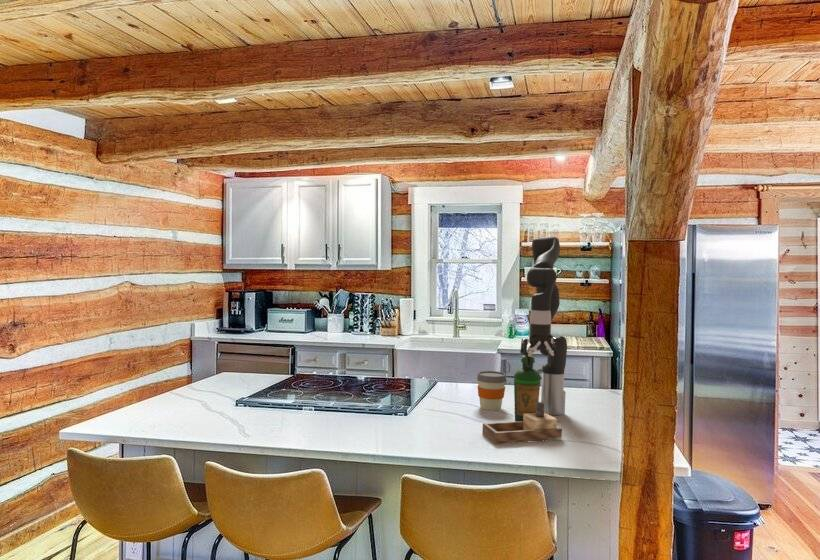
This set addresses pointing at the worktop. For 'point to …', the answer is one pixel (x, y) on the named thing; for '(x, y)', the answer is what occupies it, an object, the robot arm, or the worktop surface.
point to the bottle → (526, 389)
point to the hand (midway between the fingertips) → (539, 366)
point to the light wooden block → (539, 419)
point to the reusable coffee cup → (491, 389)
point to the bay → (517, 433)
